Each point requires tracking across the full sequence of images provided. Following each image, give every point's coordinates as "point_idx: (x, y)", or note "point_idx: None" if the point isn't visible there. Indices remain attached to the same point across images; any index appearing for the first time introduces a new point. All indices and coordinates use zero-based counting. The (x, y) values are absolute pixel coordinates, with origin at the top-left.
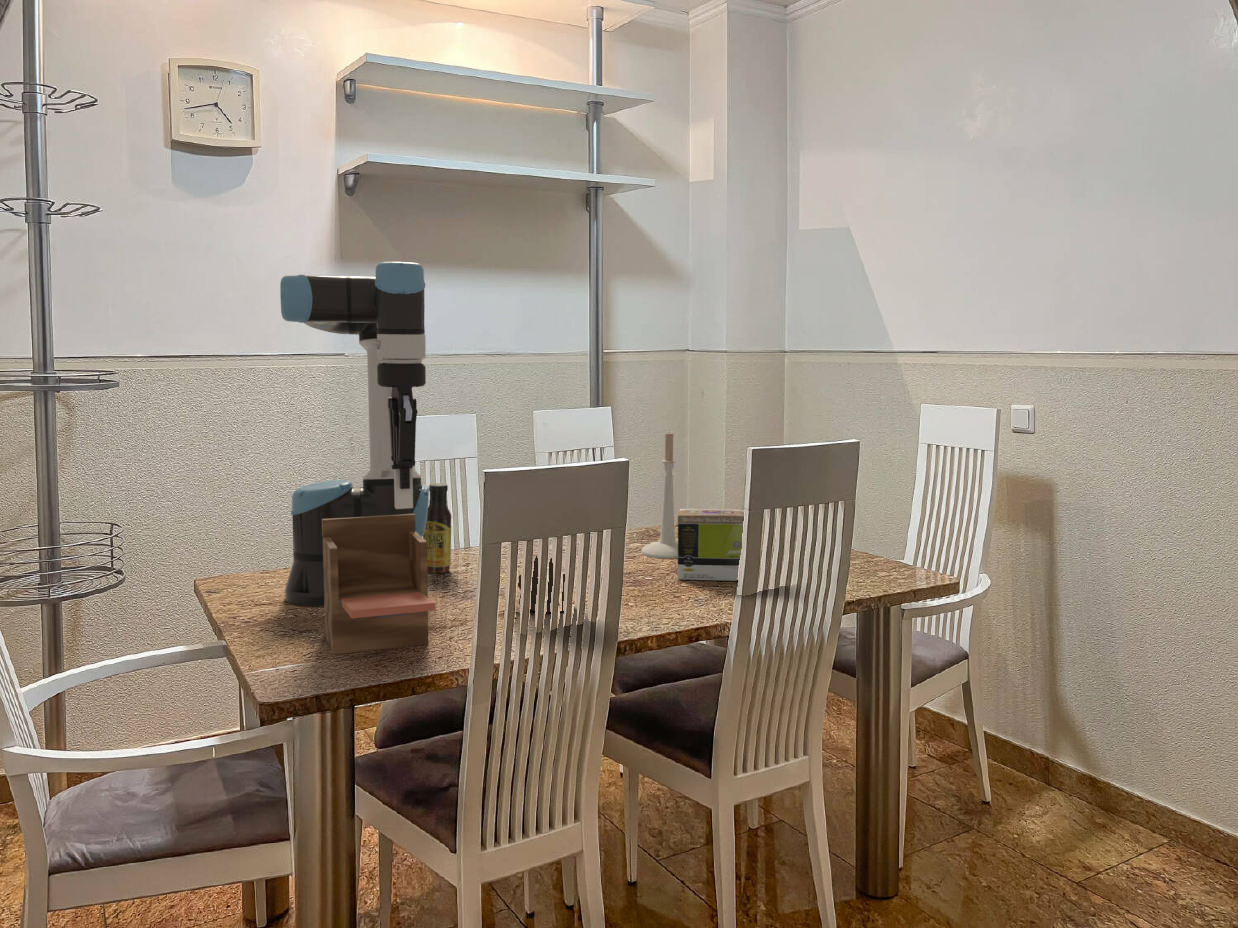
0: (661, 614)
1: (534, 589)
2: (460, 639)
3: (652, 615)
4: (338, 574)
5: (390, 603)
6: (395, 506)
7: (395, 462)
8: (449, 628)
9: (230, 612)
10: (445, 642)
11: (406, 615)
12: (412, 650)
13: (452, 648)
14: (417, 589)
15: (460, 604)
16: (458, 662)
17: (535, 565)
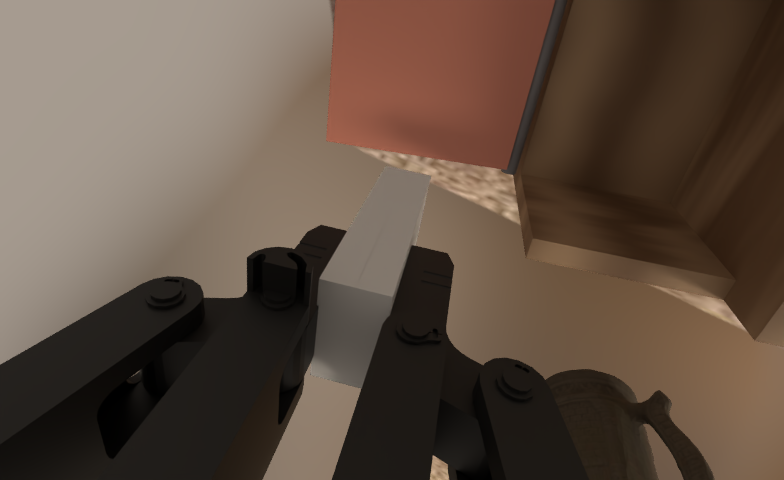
0: (439, 471)
1: (569, 404)
2: (500, 210)
3: (442, 462)
4: None
5: (388, 42)
6: (402, 172)
7: (381, 335)
8: None
9: None
10: (500, 180)
11: None
12: None
13: (458, 176)
14: (563, 182)
15: (723, 310)
16: (377, 151)
17: (580, 447)
